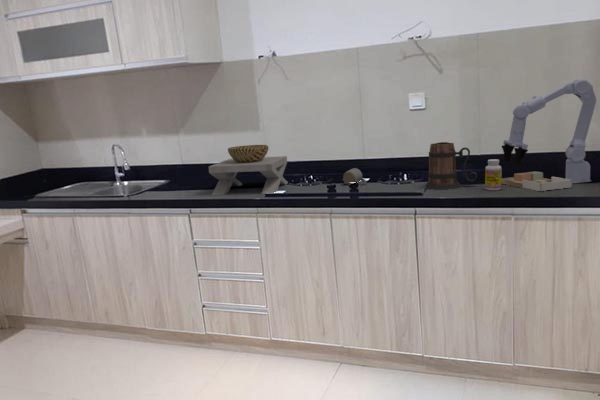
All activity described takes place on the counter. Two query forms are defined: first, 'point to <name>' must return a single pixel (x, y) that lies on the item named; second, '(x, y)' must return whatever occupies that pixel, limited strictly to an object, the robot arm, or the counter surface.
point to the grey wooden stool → (249, 168)
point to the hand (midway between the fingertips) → (512, 162)
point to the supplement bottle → (493, 175)
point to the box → (547, 184)
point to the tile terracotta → (522, 177)
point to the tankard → (445, 167)
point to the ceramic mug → (353, 176)
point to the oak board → (519, 184)
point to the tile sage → (536, 175)
